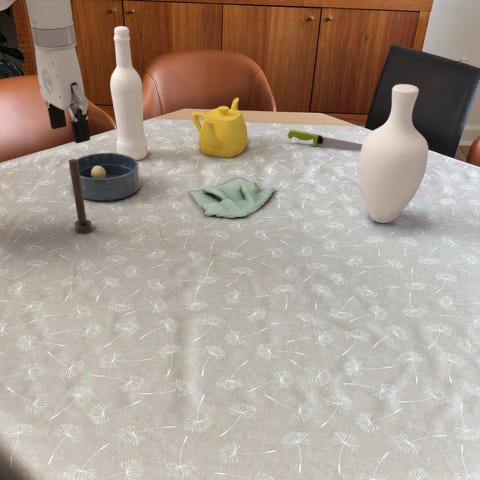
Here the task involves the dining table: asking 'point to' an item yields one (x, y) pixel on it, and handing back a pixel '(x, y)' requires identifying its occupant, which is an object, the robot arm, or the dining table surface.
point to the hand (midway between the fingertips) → (70, 134)
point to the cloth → (232, 199)
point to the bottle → (127, 100)
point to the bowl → (109, 176)
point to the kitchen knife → (324, 141)
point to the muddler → (79, 199)
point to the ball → (98, 172)
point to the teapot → (222, 131)
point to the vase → (393, 159)
